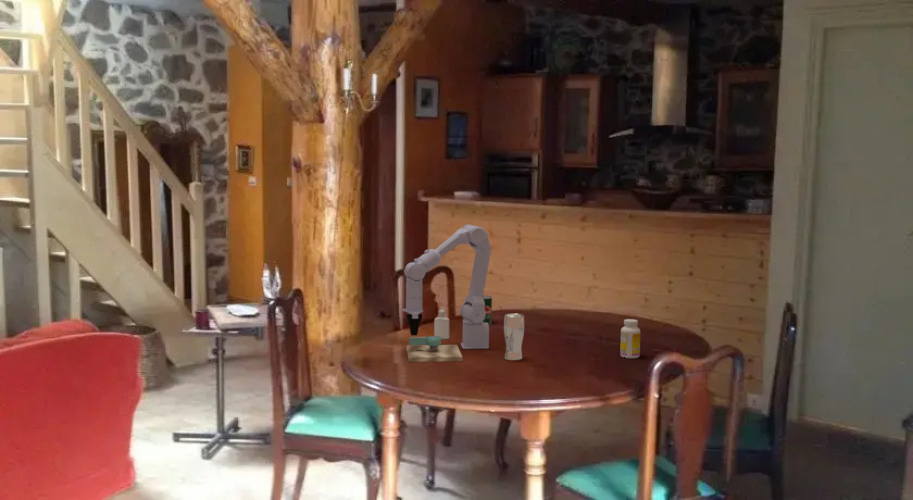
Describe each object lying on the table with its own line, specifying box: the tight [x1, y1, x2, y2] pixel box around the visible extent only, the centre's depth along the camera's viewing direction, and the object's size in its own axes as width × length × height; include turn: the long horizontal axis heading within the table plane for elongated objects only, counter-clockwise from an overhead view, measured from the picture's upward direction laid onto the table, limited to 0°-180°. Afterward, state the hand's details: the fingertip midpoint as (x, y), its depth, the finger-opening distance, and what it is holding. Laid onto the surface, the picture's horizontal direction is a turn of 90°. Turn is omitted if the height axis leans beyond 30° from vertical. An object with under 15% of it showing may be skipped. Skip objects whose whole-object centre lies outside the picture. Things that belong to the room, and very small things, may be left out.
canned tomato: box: [483, 294, 493, 326], centre depth 358 cm, size 8×8×11 cm
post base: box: [406, 344, 463, 363], centre depth 303 cm, size 18×18×4 cm
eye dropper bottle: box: [433, 306, 450, 341], centre depth 328 cm, size 4×6×12 cm
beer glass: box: [503, 313, 525, 361], centre depth 299 cm, size 7×7×15 cm
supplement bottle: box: [619, 318, 641, 359], centre depth 303 cm, size 7×7×13 cm
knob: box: [408, 335, 442, 346], centre depth 302 cm, size 11×5×3 cm, turn 96°
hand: (413, 335), depth 307 cm, fingers closed
